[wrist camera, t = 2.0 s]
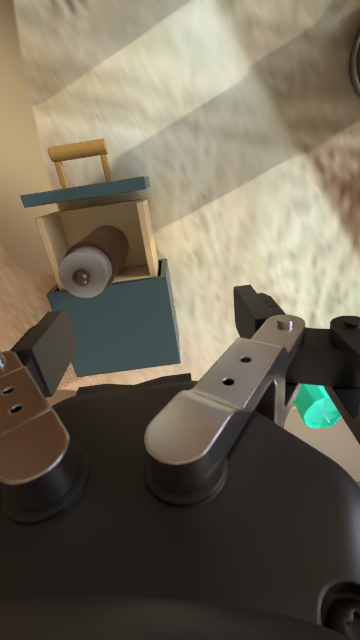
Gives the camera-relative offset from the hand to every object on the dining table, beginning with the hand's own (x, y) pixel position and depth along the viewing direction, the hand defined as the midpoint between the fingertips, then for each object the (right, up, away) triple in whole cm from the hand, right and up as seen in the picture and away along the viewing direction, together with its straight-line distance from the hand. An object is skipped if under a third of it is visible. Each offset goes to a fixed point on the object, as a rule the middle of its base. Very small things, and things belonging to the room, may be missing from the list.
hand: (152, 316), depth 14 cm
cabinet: (-7, +2, +30) cm, 31 cm away
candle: (+22, -9, +37) cm, 44 cm away
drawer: (-9, +14, +24) cm, 29 cm away
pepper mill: (-8, +10, +24) cm, 28 cm away
